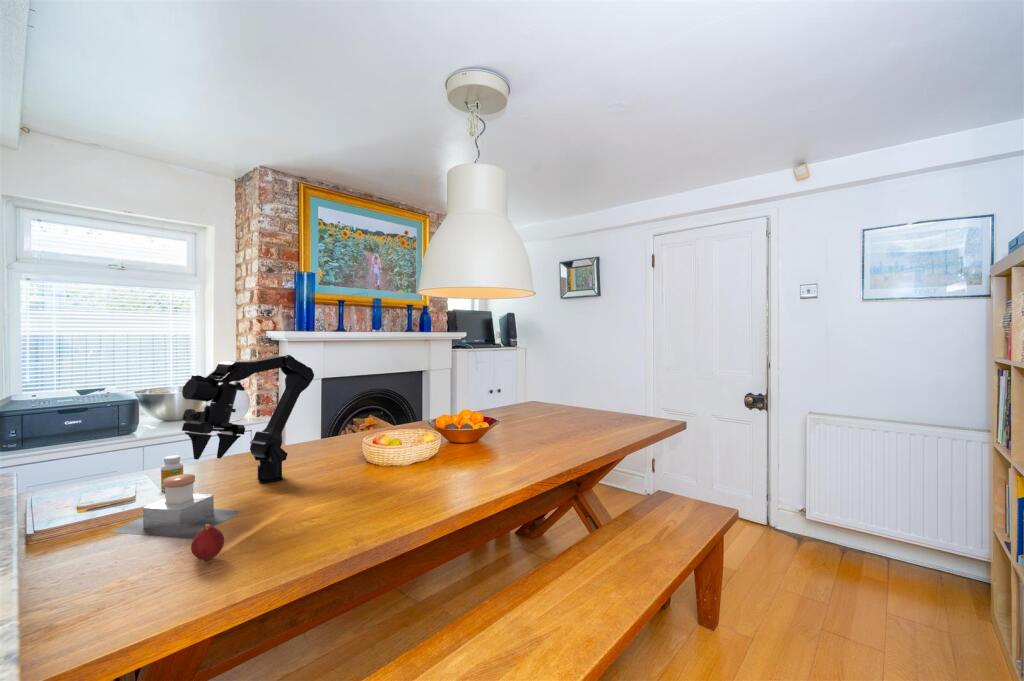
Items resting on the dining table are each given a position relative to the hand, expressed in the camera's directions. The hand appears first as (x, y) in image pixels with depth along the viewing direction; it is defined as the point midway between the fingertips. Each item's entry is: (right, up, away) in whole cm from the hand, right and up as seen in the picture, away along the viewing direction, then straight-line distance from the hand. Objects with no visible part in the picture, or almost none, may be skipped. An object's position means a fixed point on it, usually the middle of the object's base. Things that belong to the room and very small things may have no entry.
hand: (207, 458), depth 127 cm
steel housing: (+3, -12, -15) cm, 19 cm away
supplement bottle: (-17, -12, +10) cm, 23 cm away
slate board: (+3, -13, -15) cm, 20 cm away
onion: (+22, -13, -32) cm, 41 cm away
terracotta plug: (+3, -8, -15) cm, 17 cm away
